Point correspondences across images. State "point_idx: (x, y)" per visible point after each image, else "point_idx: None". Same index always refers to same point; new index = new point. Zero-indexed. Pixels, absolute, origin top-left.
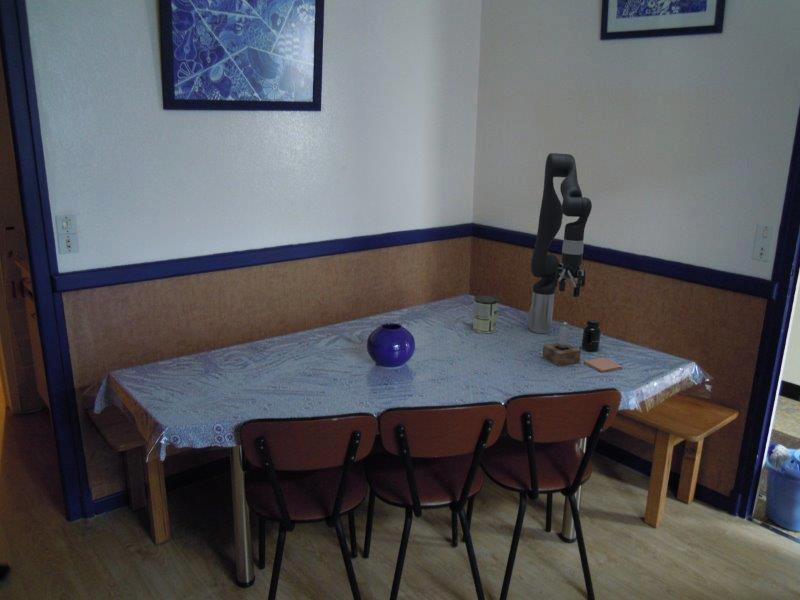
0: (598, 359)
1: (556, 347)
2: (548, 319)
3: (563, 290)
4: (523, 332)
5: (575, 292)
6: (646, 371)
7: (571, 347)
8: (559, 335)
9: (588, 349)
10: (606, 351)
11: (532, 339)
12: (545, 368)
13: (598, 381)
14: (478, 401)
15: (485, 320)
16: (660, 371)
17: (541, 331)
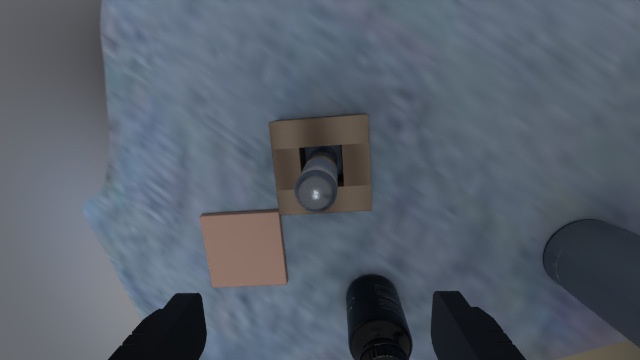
0: (274, 259)
1: (342, 156)
2: (583, 287)
3: (433, 332)
4: (594, 188)
5: (148, 335)
6: None
7: None
8: (323, 161)
9: (355, 283)
10: (338, 325)
11: (519, 178)
12: (277, 67)
13: (151, 166)
14: None
15: None
16: None
17: (556, 241)
